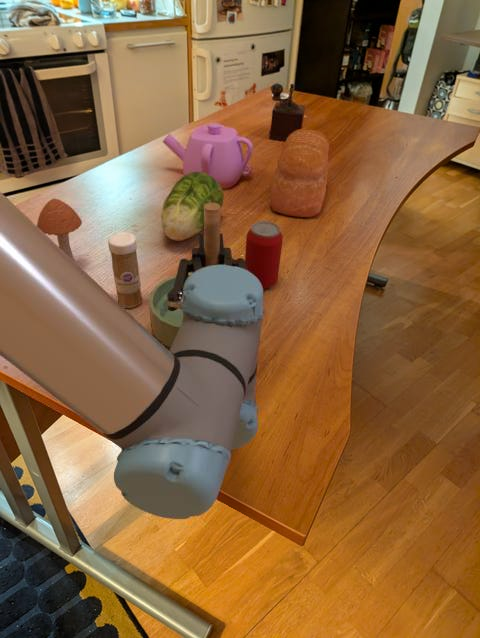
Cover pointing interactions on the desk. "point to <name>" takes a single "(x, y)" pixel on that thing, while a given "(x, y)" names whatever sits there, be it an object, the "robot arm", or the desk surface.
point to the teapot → (213, 153)
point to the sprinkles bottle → (125, 269)
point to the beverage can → (264, 252)
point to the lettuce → (189, 205)
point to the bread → (301, 174)
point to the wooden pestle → (211, 234)
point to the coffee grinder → (285, 114)
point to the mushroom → (59, 223)
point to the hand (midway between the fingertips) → (210, 240)
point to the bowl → (164, 313)
